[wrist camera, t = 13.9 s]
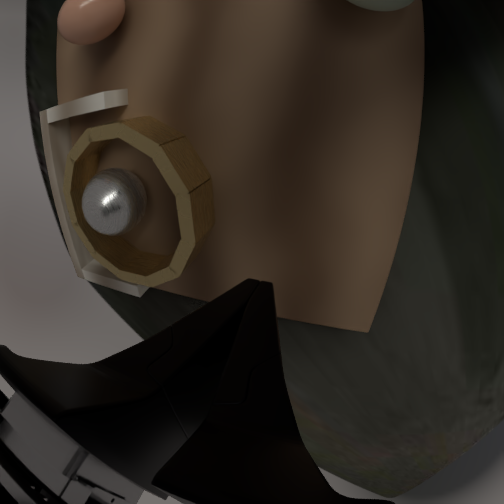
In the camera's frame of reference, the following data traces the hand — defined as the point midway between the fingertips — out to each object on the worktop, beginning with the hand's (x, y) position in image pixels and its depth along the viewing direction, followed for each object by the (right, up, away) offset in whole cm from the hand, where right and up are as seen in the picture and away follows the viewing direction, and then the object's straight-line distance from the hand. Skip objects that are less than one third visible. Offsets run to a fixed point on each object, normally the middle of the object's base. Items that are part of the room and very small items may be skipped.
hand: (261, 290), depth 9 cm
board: (-3, +8, +5) cm, 10 cm away
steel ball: (-8, +4, +6) cm, 11 cm away
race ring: (-7, +5, +7) cm, 11 cm away
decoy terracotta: (-9, +14, 0) cm, 17 cm away
